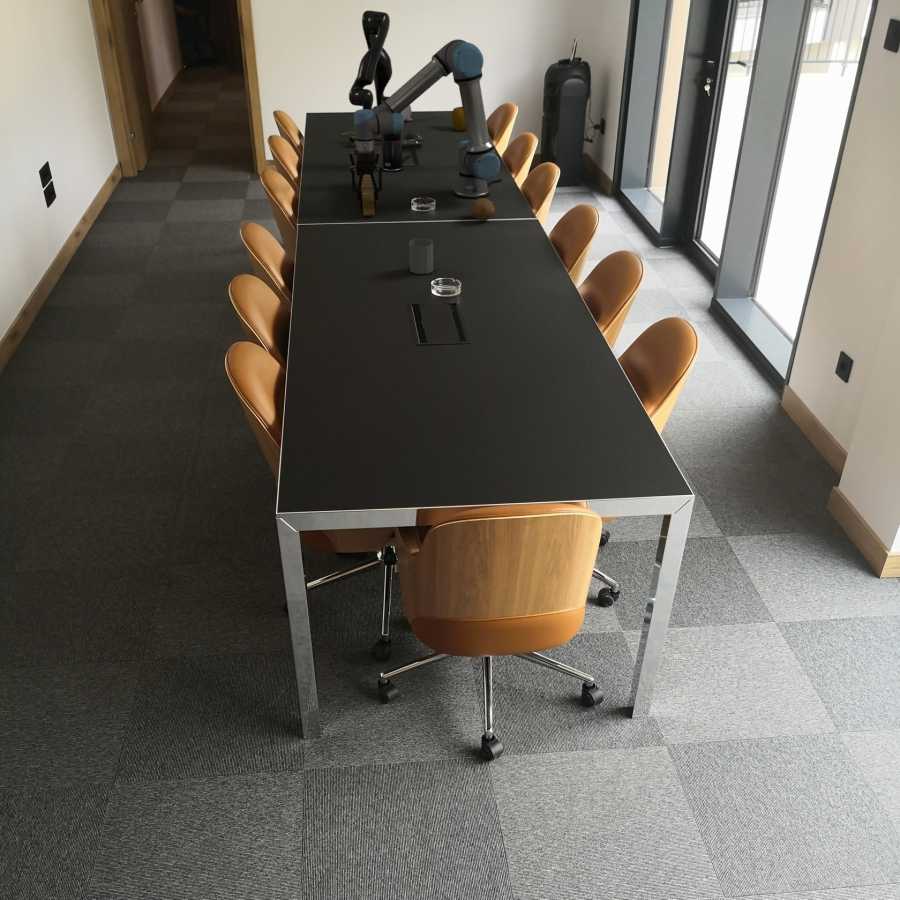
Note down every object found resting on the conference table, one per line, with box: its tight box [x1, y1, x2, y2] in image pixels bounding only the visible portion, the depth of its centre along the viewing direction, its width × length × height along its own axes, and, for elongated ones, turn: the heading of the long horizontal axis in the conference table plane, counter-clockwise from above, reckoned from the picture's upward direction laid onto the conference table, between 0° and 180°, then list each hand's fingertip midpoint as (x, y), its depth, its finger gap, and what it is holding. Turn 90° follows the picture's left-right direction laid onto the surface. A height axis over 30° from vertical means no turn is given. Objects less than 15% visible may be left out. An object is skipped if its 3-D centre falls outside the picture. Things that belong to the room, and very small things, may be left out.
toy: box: [401, 104, 413, 124], centre depth 503 cm, size 9×24×15 cm, turn 137°
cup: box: [408, 237, 434, 275], centre depth 305 cm, size 8×8×10 cm
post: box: [360, 174, 376, 216], centre depth 375 cm, size 52×5×9 cm, turn 6°
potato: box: [470, 197, 495, 221], centre depth 354 cm, size 10×14×8 cm
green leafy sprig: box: [339, 131, 382, 148], centre depth 462 cm, size 6×13×30 cm
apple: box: [451, 105, 467, 132], centre depth 487 cm, size 11×11×13 cm
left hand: (365, 175), depth 391 cm, fingers closed on post, 4 cm apart
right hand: (368, 207), depth 362 cm, fingers open, 5 cm apart
